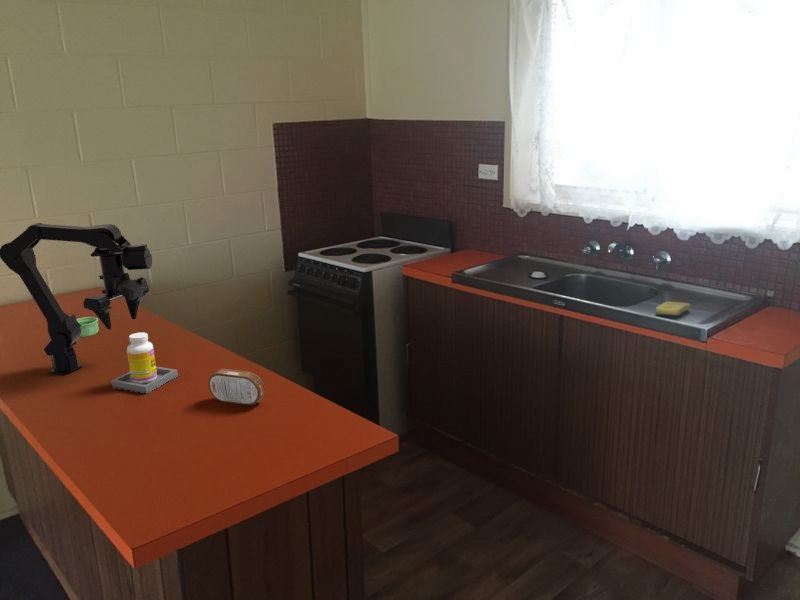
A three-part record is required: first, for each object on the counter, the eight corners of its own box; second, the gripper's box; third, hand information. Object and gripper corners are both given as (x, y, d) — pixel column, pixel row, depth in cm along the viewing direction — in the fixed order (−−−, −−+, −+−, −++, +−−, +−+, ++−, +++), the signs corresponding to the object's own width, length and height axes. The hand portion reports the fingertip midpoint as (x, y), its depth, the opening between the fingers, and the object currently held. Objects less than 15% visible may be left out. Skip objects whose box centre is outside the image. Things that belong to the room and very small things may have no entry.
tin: (267, 403, 169) (264, 371, 167) (260, 408, 166) (257, 376, 164) (215, 396, 174) (211, 366, 172) (208, 401, 171) (204, 371, 169)
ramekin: (105, 331, 228) (103, 319, 226) (81, 339, 220) (79, 327, 219) (89, 327, 232) (87, 315, 231) (65, 335, 225) (62, 323, 224)
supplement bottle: (157, 382, 182) (150, 337, 179) (130, 386, 181) (123, 340, 177) (158, 373, 188) (152, 329, 185) (132, 376, 187) (126, 332, 183)
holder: (112, 387, 182) (111, 380, 181) (145, 371, 192) (143, 364, 192) (146, 394, 177) (145, 387, 176) (178, 376, 187) (177, 369, 187)
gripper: (108, 281, 176) (118, 338, 181) (159, 264, 192) (167, 316, 197) (77, 278, 181) (87, 333, 185) (129, 262, 197) (138, 313, 201)
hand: (121, 324), depth 192 cm, fingers open, 9 cm apart
